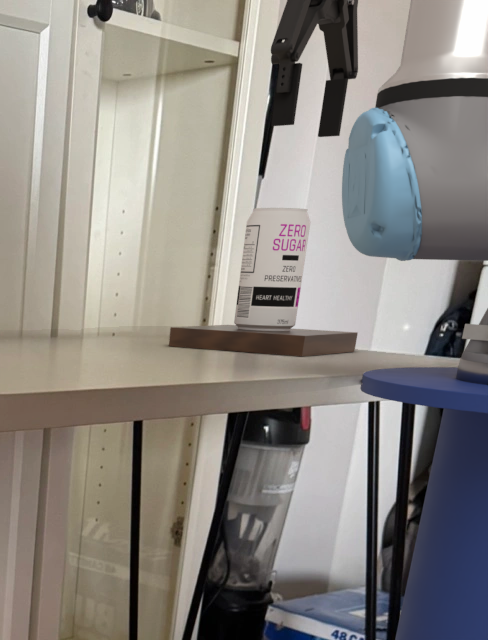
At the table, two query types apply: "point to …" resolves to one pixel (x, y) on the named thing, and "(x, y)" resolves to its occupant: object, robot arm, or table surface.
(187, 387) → the table surface
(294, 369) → the table surface
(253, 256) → the supplement can
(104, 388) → the table surface
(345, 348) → the walnut board
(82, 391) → the table surface
